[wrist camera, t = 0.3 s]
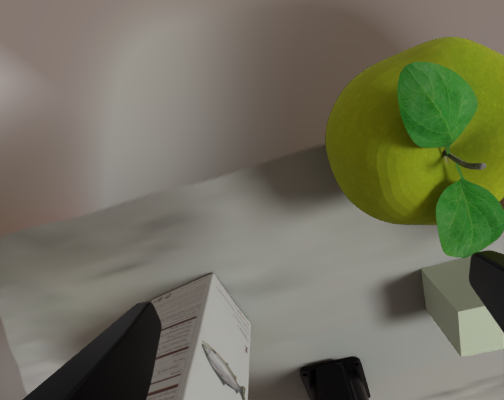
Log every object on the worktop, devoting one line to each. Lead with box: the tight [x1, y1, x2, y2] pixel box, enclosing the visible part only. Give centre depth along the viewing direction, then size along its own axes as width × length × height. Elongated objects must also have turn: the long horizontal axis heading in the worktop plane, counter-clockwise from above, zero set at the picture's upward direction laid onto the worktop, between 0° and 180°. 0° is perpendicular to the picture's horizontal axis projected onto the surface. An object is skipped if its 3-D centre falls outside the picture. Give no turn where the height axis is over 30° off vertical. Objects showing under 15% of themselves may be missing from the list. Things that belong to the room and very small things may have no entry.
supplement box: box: [146, 273, 251, 400], centre depth 21 cm, size 7×7×13 cm
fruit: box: [325, 37, 504, 258], centre depth 15 cm, size 9×9×10 cm
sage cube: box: [421, 256, 504, 357], centre depth 23 cm, size 5×5×5 cm
